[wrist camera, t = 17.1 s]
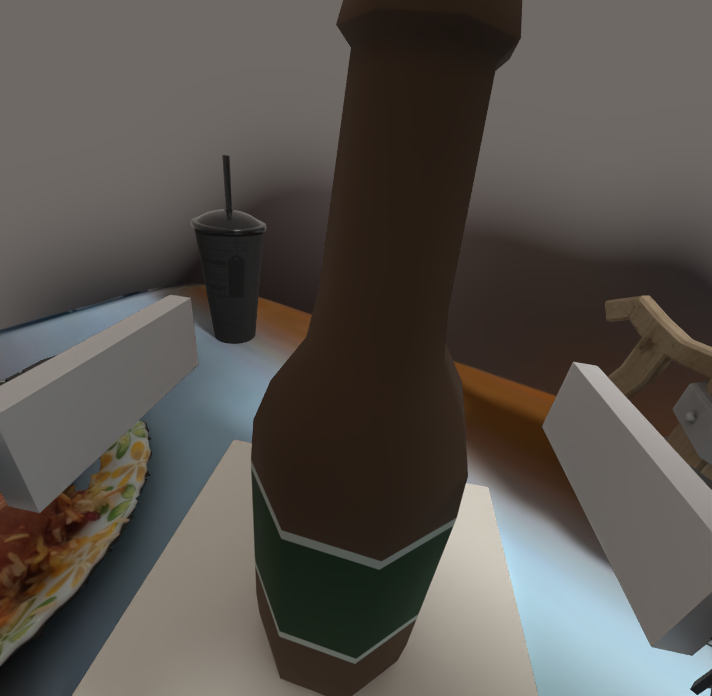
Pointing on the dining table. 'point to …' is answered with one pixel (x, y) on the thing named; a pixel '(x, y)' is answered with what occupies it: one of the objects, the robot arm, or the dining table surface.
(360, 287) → the beer bottle
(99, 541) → the rice dish
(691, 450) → the tankard
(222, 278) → the drinking cup
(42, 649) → the dining table surface
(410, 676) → the square board
